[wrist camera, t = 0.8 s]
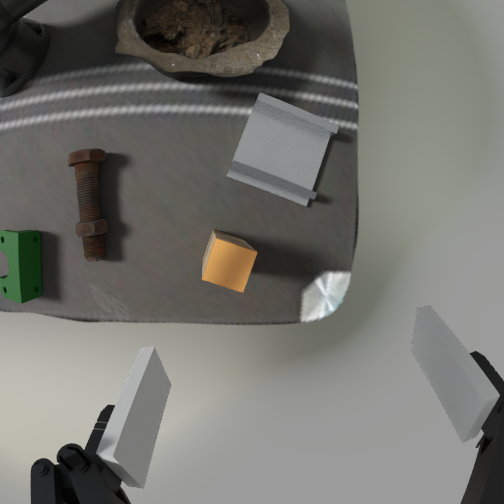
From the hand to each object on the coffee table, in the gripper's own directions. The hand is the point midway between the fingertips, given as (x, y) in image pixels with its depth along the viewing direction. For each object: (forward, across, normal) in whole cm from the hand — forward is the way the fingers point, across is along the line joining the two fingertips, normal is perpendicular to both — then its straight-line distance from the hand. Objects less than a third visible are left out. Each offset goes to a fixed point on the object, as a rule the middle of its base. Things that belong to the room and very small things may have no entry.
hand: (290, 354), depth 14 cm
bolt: (+28, -24, +5) cm, 38 cm away
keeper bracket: (+33, +3, +7) cm, 34 cm away
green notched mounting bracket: (+24, -38, 0) cm, 45 cm away
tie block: (+29, -7, -5) cm, 30 cm away
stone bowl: (+37, -5, +29) cm, 47 cm away
